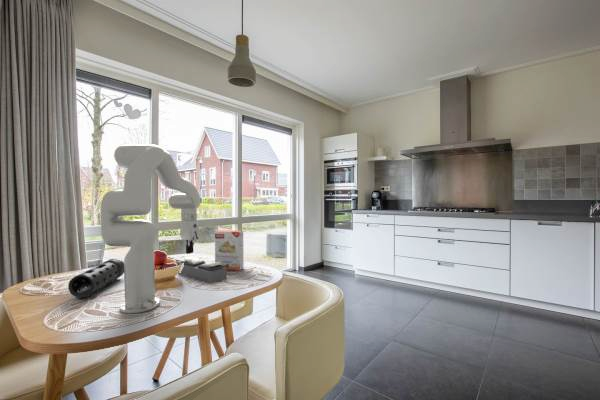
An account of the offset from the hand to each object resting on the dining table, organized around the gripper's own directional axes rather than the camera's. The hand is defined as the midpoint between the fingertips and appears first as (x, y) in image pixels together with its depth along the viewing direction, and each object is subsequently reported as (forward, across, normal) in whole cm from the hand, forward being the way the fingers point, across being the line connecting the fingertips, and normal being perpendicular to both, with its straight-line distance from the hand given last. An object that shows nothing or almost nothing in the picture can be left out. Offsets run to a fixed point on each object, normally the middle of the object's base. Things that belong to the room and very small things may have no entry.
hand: (189, 253), depth 145 cm
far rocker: (+4, -3, 0) cm, 5 cm away
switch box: (+10, -10, 0) cm, 14 cm away
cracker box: (+10, -12, -16) cm, 22 cm away
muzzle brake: (+10, +11, +36) cm, 39 cm away
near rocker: (+4, -17, 0) cm, 17 cm away
